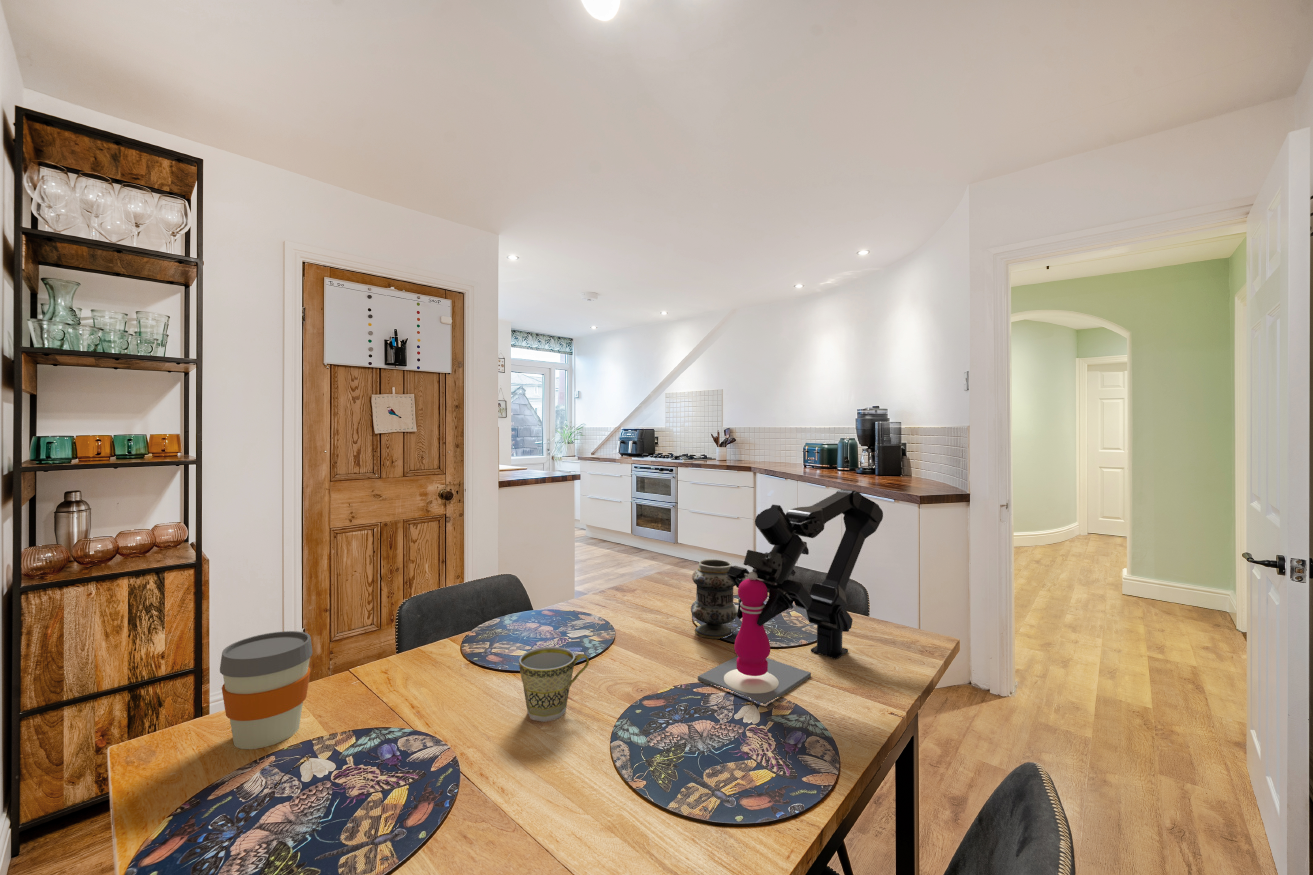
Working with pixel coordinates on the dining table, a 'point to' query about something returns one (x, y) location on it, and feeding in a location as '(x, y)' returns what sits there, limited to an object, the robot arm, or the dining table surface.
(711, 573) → the apothecary jar
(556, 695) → the ceramic cup
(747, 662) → the pepper mill
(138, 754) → the dining table surface
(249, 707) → the reusable coffee cup
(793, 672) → the mat
